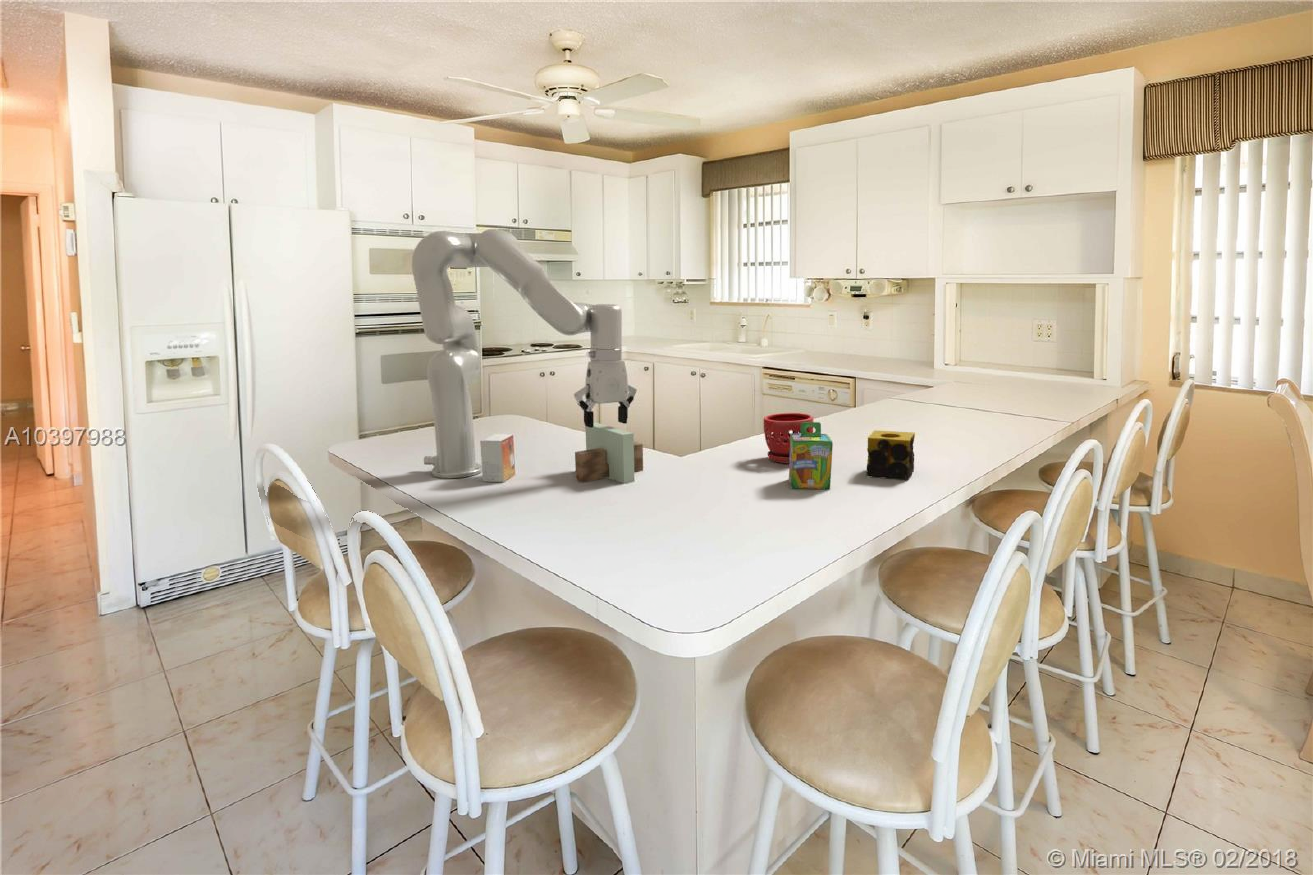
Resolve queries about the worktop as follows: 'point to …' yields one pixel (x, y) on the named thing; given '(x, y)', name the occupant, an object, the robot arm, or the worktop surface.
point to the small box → (497, 458)
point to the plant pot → (783, 433)
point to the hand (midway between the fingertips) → (606, 424)
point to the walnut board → (601, 463)
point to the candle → (890, 454)
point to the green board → (614, 450)
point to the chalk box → (810, 458)
